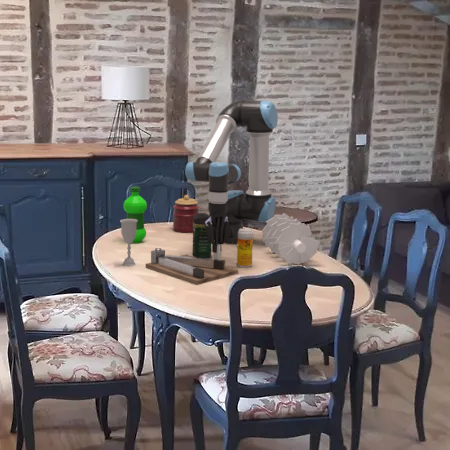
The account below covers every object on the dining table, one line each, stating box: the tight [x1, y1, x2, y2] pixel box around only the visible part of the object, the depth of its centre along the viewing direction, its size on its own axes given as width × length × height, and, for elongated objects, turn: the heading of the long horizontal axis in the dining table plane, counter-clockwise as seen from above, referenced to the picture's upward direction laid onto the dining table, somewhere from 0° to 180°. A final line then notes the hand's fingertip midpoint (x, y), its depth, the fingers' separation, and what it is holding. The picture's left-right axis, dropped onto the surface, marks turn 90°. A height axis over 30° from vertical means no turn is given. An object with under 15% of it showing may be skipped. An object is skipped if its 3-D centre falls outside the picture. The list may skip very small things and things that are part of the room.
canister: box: [172, 194, 200, 234], centre depth 337 cm, size 13×13×18 cm
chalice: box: [119, 218, 138, 267], centre depth 276 cm, size 7×7×18 cm
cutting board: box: [145, 254, 239, 285], centre depth 272 cm, size 22×30×2 cm
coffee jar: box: [191, 212, 212, 259], centre depth 290 cm, size 10×8×19 cm
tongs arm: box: [165, 254, 226, 269], centre depth 272 cm, size 24×2×3 cm, turn 75°
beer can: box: [236, 227, 254, 268], centre depth 278 cm, size 6×6×15 cm
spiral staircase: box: [261, 212, 321, 266], centre depth 290 cm, size 18×18×25 cm
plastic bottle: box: [122, 186, 148, 244], centre depth 312 cm, size 10×10×25 cm
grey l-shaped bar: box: [150, 247, 204, 279], centre depth 267 cm, size 28×5×6 cm, turn 45°
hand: (216, 259), depth 276 cm, fingers closed
